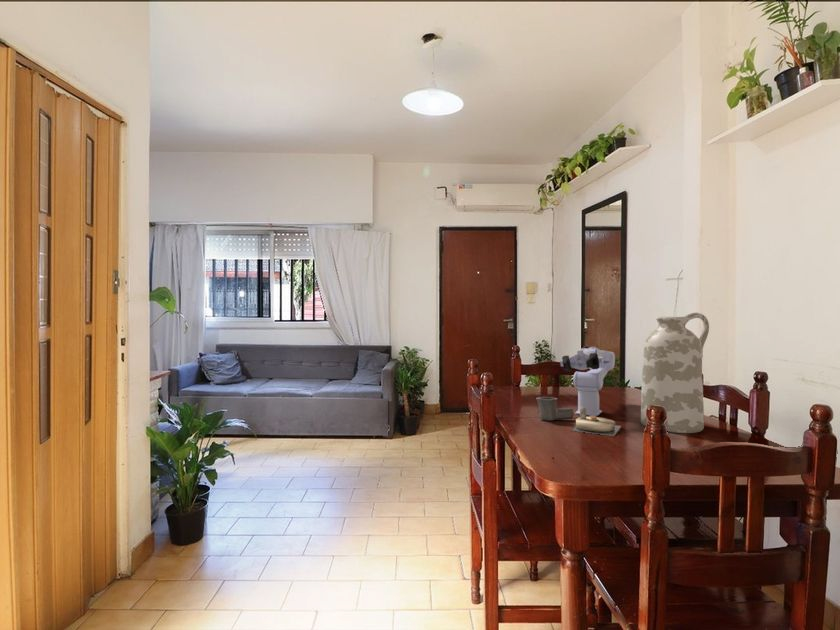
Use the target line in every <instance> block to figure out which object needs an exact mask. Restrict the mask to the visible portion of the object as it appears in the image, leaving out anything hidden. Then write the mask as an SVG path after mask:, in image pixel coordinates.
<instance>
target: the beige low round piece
mask: <svg viewBox="0 0 840 630" xmlns="http://www.w3.org/2000/svg"><path fill="white" fill-rule="evenodd" d="M615 425H616V421H614V420H613V419H609V418H606V417H600V416H599V417H598V416H591V415H589V416H587V415H586V408H584V407H581V408H580V414H579V417H577V418H576V419H575V426H576V427H578V428H580V429H584V430H588V431H598V432H605V431H612V430H614V429H615Z"/></svg>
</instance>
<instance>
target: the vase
mask: <svg viewBox="0 0 840 630" xmlns="http://www.w3.org/2000/svg"><path fill="white" fill-rule="evenodd" d="M655 319H656V321H657V323H658V327H657V328H656V329H655V330H653V331H651V333H650V334H649V335H648V336H647V337H646V339H645V342H644V345H643V346H644V348H643V359H642V360H643V361H642V373H641V374H642V376H641V393H640V394H641V395H640V397H641V400H640V424H641V425H642V426H644V427H646V424H647V419H646V409H647V407H648V406H649V405H660V406H664V407H665V408H666V410H667V420H666V422H665V425H666V427H667V430H668V432H667V433H674V434H675V433H676V434H696V433H699V432H702V431H703V430H704V428H705V419H704V417H705V412H704V410H705V409H704V385H703V384H704V382H703V353H704V351H703V350H704V345H705V343H706V341H707V338H708V336H709V331H710V323H709V319H708V318H707V317H706V316H705V315H704V314H703V313H700V312H692V313H688V314H686V315H684V316H657V317H655ZM694 319H700V320H701V321H702V324H703V327H702V332H701V334H700V337H698V336H697V335H696V334H695V333H694V332H693V331H692V330H690V329H688V328H686V325H687V323H688V322H689V321H690V320H694Z"/></svg>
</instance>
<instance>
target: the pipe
mask: <svg viewBox="0 0 840 630" xmlns="http://www.w3.org/2000/svg"><path fill="white" fill-rule="evenodd" d="M536 402H537V405H538V409H539V417H540V419H541V420H542V421H544V422H545V421H547V422H549V421H550V422H551V421H556V420H557V421H559V420H572V419H574V416H575V415H574V414H575V413H574V408H572V407H567V408H558V407H557V406H558V398H556V397H551V396H539V397H536Z"/></svg>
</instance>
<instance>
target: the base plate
mask: <svg viewBox="0 0 840 630" xmlns="http://www.w3.org/2000/svg"><path fill="white" fill-rule="evenodd" d="M621 428H622V425H616V424H615V429H614V430H612V431H605V432H598V431H588V430H584V429H580V428H578V427H576V425H575V426H574V427H573V428H572V429H571V431H570V432H575V431H577V433H583V432H585V434H591V433H592V434H591V435H598V434H600V435H601V436H609V437H615V436H616V435H617V434H618V432H619V431H620V429H621Z"/></svg>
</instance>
